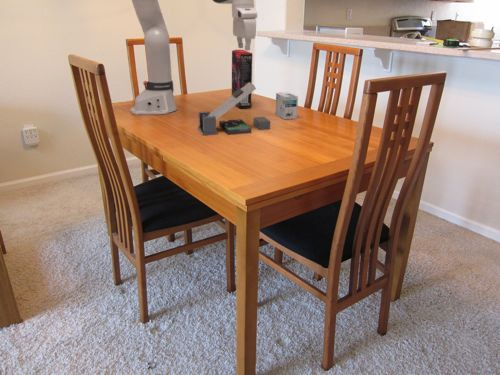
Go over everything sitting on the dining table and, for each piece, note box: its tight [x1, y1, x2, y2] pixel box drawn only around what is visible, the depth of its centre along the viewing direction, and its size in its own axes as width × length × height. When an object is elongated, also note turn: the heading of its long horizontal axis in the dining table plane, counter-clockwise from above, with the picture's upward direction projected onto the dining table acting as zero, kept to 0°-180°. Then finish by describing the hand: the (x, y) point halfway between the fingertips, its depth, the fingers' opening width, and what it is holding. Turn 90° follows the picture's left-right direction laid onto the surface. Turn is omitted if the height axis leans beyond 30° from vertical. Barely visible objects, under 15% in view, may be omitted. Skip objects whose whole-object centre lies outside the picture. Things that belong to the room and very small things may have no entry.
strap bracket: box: [197, 110, 271, 136], centre depth 177 cm, size 30×11×7 cm, turn 107°
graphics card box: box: [231, 49, 253, 109], centre depth 213 cm, size 17×7×27 cm, turn 17°
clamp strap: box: [205, 82, 257, 121], centre depth 173 cm, size 25×6×3 cm
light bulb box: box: [275, 91, 299, 120], centre depth 196 cm, size 11×7×11 cm, turn 22°
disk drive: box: [218, 118, 252, 136], centre depth 178 cm, size 10×3×15 cm
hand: (243, 49), depth 170 cm, fingers open, 8 cm apart
